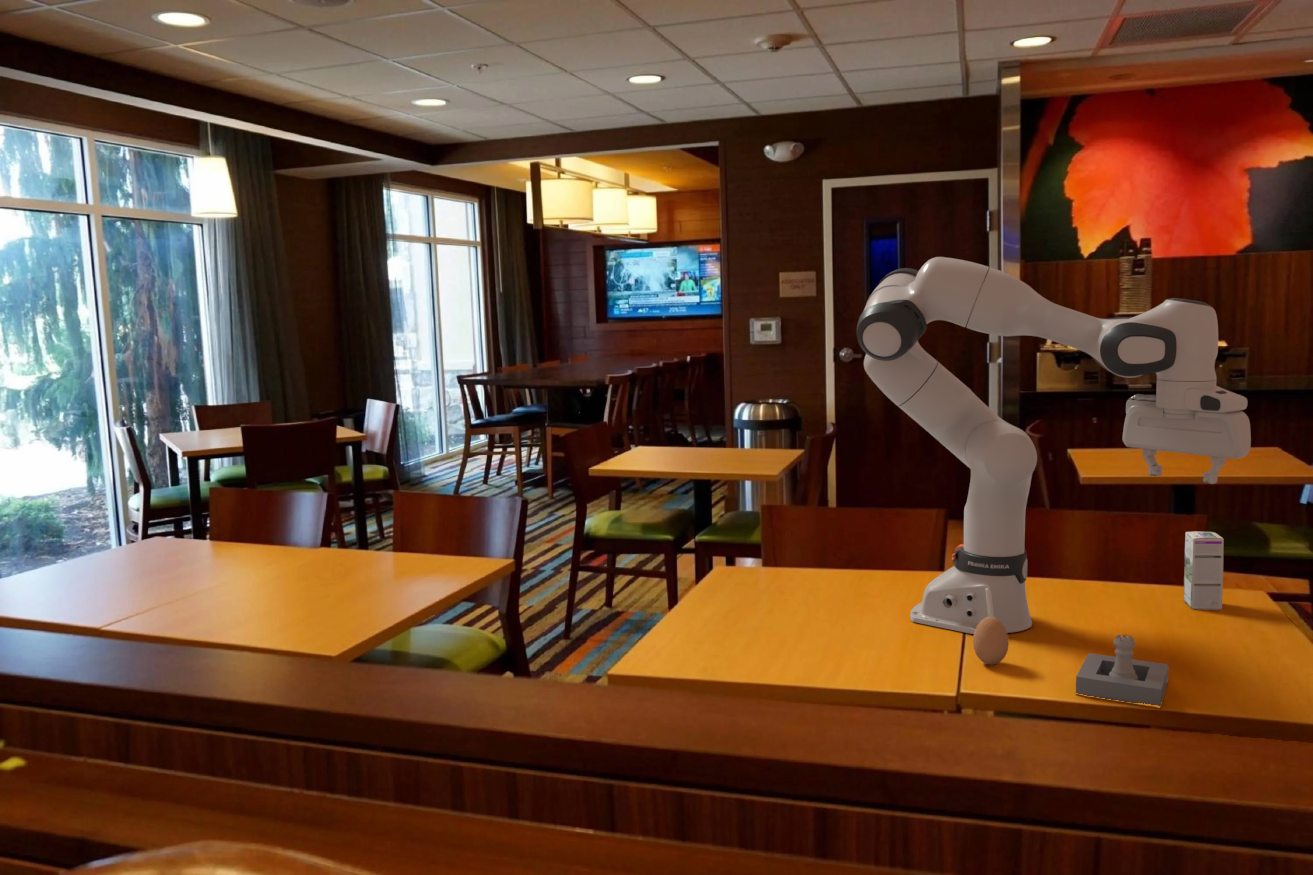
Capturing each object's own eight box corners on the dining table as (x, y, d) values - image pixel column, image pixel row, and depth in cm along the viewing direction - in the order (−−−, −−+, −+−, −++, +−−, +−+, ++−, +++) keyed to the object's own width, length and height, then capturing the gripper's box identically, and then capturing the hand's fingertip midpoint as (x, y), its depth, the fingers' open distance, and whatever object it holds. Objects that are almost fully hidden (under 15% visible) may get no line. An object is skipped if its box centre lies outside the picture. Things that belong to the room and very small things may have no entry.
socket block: (1075, 694, 163) (1076, 676, 162) (1088, 670, 173) (1088, 653, 172) (1160, 708, 157) (1161, 689, 156) (1167, 682, 167) (1168, 664, 166)
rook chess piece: (1110, 678, 168) (1112, 630, 167) (1140, 683, 165) (1142, 635, 164) (1105, 687, 164) (1106, 638, 163) (1135, 692, 162) (1137, 643, 160)
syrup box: (1223, 610, 202) (1226, 537, 200) (1190, 609, 203) (1193, 537, 201) (1213, 601, 208) (1216, 531, 206) (1181, 601, 209) (1184, 530, 207)
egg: (977, 656, 181) (977, 610, 180) (1011, 661, 178) (1012, 614, 177) (969, 666, 176) (969, 619, 175) (1004, 672, 173) (1004, 623, 172)
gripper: (1116, 394, 179) (1113, 473, 180) (1237, 402, 162) (1233, 489, 163) (1137, 391, 182) (1134, 469, 184) (1258, 399, 165) (1253, 485, 167)
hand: (1181, 479), depth 174 cm, fingers open, 8 cm apart
